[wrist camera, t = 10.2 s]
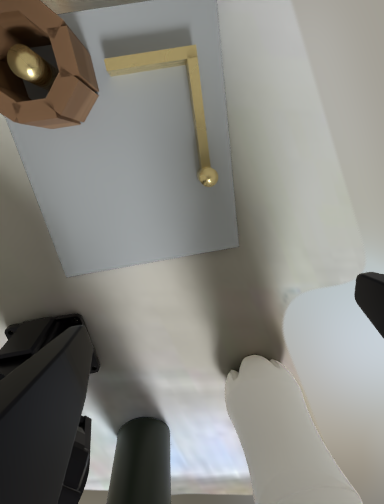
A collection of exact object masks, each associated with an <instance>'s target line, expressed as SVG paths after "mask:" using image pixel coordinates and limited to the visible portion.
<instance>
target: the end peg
mask: <svg viewBox="0 0 384 504" xmlns="http://www.w3.org/2000/svg"><path fill="white" fill-rule="evenodd" d="M7 62H8V65H9V67H10V69H11V70H12V72H13V73H14V74H15V75H17V76H18V77H20V78H22V79H24V80H26V81H28V82H30V83H32V84H34V85H36V86H38V87H40V88H43V89H45V90H47V91H50V89H51V87H52V85H53V83H54V81H55V79H56V77H57V75H58V73H59V70H58V69H57V68H56V67H54V66H53V65H51V64H50V63H49V62H47V61H46V60H45V59H43V58H42V57H41V56H39V55H38V54H37V53H35V52H34V51H32V50H31V49H30V48H28V47H27V46H25V45H21V44H16V45H13V46H12V47H11V48H10V49H9V51H8V53H7Z"/></svg>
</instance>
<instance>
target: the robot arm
mask: <svg viewBox="0 0 384 504" xmlns="http://www.w3.org/2000/svg"><path fill="white" fill-rule="evenodd" d="M355 300H356V302H357V304H358V305H359V307H360V308H361V309H362V311H363V312H364V313H365V314H366V316H367V317H368V318H369V320H370V321H371V322H372V324H373V325H374V326H375V328H376V329H377V330H378V332H379V333H380V334H381V335H382V337H383V338H384V274H379V273H374V272H367V273H362V274H359V275H358V276H357V278H356V286H355ZM74 319H77V320H78V321H75V320H74ZM11 331H13V332H11ZM5 335H6V337H7V339H8V341H7V342H6V343H5V345H4V346H3V347H2V348H1V350H0V504H78V502H79V500H80V497H81V495H82V493H83V490H84V487H85V484H86V481H87V477H88V473H89V465H90V441H91V418H89V417H87V416H84V417H83V416H82V415H81V414H82V410H83V406H84V402H85V398H86V392H87V386H88V380H89V374H90V373H95V372H98V371H99V368H100V363H99V360H98V358H97V355H96V352H95V350H94V347H93V344H92V342H91V339H90V337H89V334H88V331H87V329H86V326H85V323H84V321H83V318H82V316H81V315H80V314H70V315H65V316H59V317H47V318H42V319H36V320H31V321H25V322H23V323H21V324H15V325H10V326H9V327H8V328H7V329H6V330H5Z"/></svg>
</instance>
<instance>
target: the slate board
mask: <svg viewBox="0 0 384 504" xmlns="http://www.w3.org/2000/svg"><path fill="white" fill-rule="evenodd" d="M57 15H58V16H59V17H60V18H62V19H63V20H64V22H65V23H66V24H67V25H68V27H69V28H70V29H71V30H72V32H73V33H74V34H75V35H76V37H77V38H78V39H79V40H80V42H81V43H82V44H83V45H84V47H85V48H86V49H87V50H88V53H89V54H90V55H91V59H92V63H93V67H94V72H95V76H96V80H97V84H98V88H99V92H95V93H96V94H97V95H99V96H98V98H97V100H96V102H95V104H94V105H93V107H92V109H91V111H90V113H89V115H88V116H87V118H86V120H85V122H81V121H80V123H81V125H76V126H69V127H63V128H56V129H48V128H42V127H36V126H30V125H25V124H19V123H16V122H13V121H11V120H10V119H8V118H7V117H6V116H5V118H6V121H7V123H8V126H9V129H10V131H11V134H12V136H13V139H14V142H15V144H16V147H17V149H18V152H19V155H20V157H21V160H22V163H23V165H24V168H25V170H26V173H27V176H28V178H29V181H30V184H31V186H32V189H33V191H34V194H35V197H36V199H37V202H38V204H39V207H40V210H41V212H42V215H43V218H44V220H45V223H46V225H47V228H48V231H49V233H50V236H51V239H52V241H53V244H54V246H55V249H56V252H57V254H58V257H59V259H60V262H61V265H62V267H63V270H64V273H65V275H66V277H72V276H78V275H83V274H89V273H94V272H100V271H106V270H111V269H117V268H122V267H128V266H134V265H139V264H145V263H151V262H156V261H162V260H167V259H173V258H179V257H184V256H190V255H195V254H201V253H207V252H212V251H218V250H223V249H229V248H235V247H239V240H238V229H237V218H236V207H235V196H234V185H233V174H232V162H231V151H230V140H229V129H228V118H227V107H226V96H225V85H224V73H223V62H222V51H221V40H220V29H219V18H218V7H217V0H151V1H144V2H137V3H130V4H124V5H117V6H110V7H104V8H97V9H90V10H83V11H77V12H70V13H63V14H57ZM189 45H196V48H197V56H198V65H199V73H200V82H201V90H202V98H203V107H204V115H205V123H206V132H207V140H208V148H209V157H210V165H211V168H213V169H215V170H216V171H217V173H218V181H217V183H216V184H215V185H214V186H212V187H206V186H204V185H203V184H202V183H201V182H200V181H199V180H198V179H197V171H198V169H199V168H200V165H199V158H198V151H197V143H196V136H195V128H194V121H193V114H192V106H191V99H190V91H189V84H188V77H187V69H186V65H182V66H176V67H169V68H163V69H157V70H150V71H144V72H137V73H131V74H125V75H118V76H112V77H111V76H110V75H109V74H108V72H107V71H106V66H105V62H104V59H105V58H112V57H118V56H125V55H131V54H138V53H144V52H151V51H157V50H164V49H170V48H177V47H183V46H189ZM30 49H31V50H32V51H34V52H35V53H37V54H38V55H39V56H41V57H42V58H43V59H45V60H46V61H47V62H49V63H50V64H51V65H53V66H54V67H56V68H57V69H58V66H57V62H56V59H55V55H54V52H53V48H52V45H46V46H39V47H32V48H30ZM58 70H59V69H58ZM23 82H24V85H25V88H26V91H27V94H28V97H29V98H30V99H32V100H37V99H44V98H46V97H47V95H48V93H49V91H47V90H45V89H43V88H40V87H38V86H36V85H34V84H32V83H30V82H28V81H26V80H24V79H23Z"/></svg>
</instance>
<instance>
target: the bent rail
mask: <svg viewBox="0 0 384 504" xmlns="http://www.w3.org/2000/svg"><path fill="white" fill-rule="evenodd" d="M104 62H105V66H106V71H107V72H108V74H109V75H110V76H111V77H112V76H118V75H125V74H131V73H137V72H144V71H150V70H157V69H163V68H169V67H176V66H182V65H186V69H187V77H188V84H189V91H190V99H191V106H192V114H193V121H194V128H195V136H196V143H197V151H198V158H199V165H200V168H199V169H198V171H197V179H198V180H199V181H200V182H201V183H202V184H203V185H204V186H206V187H212V186H214V185H215V184H216V183H217V181H218V173H217V171H216V170H215V169H213V168H211V165H210V157H209V148H208V140H207V132H206V123H205V115H204V107H203V98H202V90H201V82H200V73H199V65H198V56H197V48H196V45H189V46H183V47H177V48H170V49H164V50H157V51H151V52H144V53H138V54H131V55H125V56H118V57H112V58H105V59H104Z"/></svg>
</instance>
